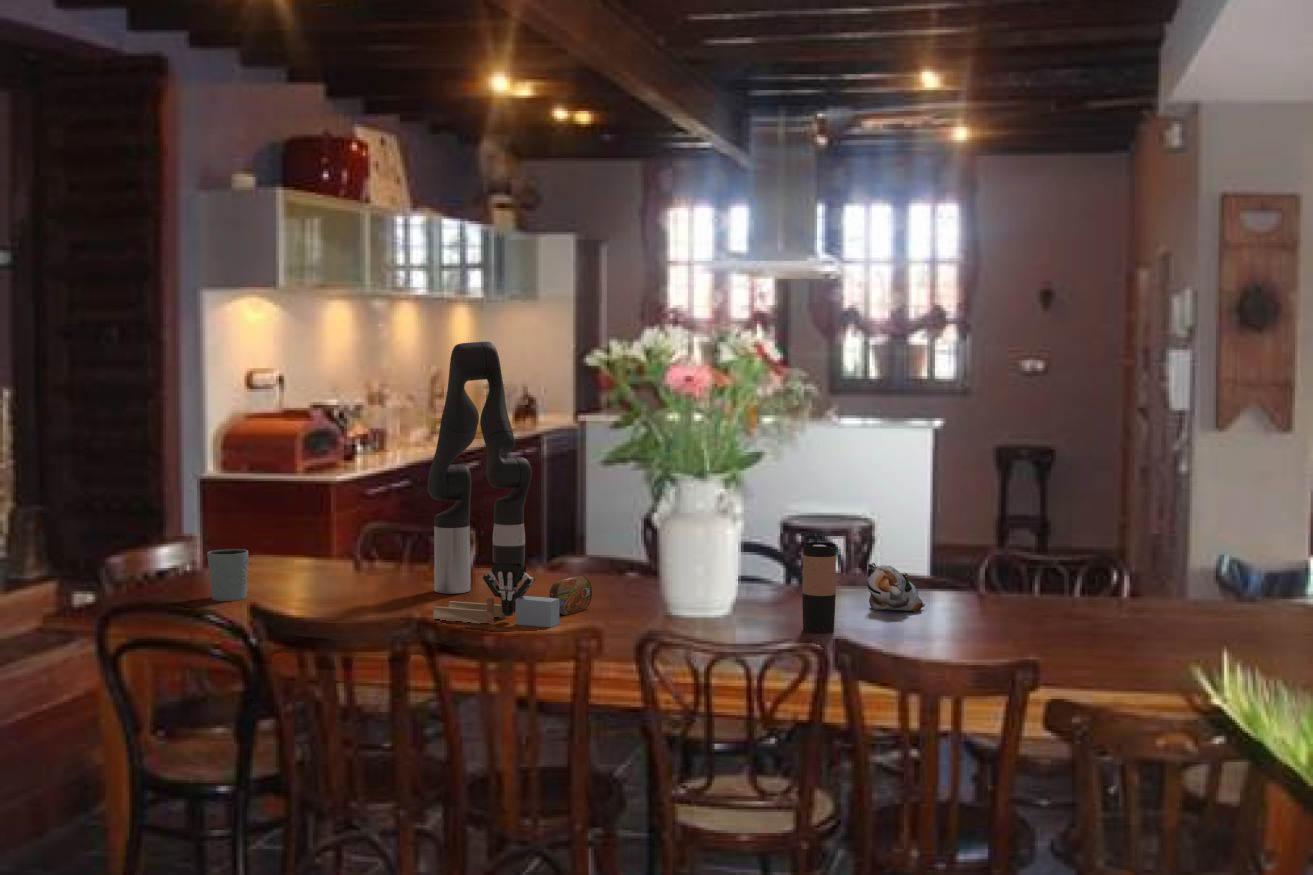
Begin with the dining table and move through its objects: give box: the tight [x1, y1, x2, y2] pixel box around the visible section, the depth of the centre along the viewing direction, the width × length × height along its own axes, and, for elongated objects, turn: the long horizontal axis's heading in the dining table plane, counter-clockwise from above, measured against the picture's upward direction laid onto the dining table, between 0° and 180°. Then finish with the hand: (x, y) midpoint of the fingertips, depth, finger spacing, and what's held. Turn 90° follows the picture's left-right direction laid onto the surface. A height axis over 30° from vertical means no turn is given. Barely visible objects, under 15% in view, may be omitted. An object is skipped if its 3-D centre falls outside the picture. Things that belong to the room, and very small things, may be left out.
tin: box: [549, 575, 593, 616], centre depth 374 cm, size 15×3×8 cm, turn 148°
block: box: [515, 595, 560, 628], centre depth 358 cm, size 4×9×6 cm, turn 68°
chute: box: [432, 597, 509, 625], centre depth 364 cm, size 9×15×6 cm, turn 70°
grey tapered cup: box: [206, 548, 249, 602], centre depth 390 cm, size 10×10×12 cm
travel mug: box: [801, 541, 837, 634], centre depth 353 cm, size 8×8×20 cm
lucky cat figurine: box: [866, 562, 925, 613], centre depth 379 cm, size 15×12×14 cm
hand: (508, 615), depth 361 cm, fingers closed
